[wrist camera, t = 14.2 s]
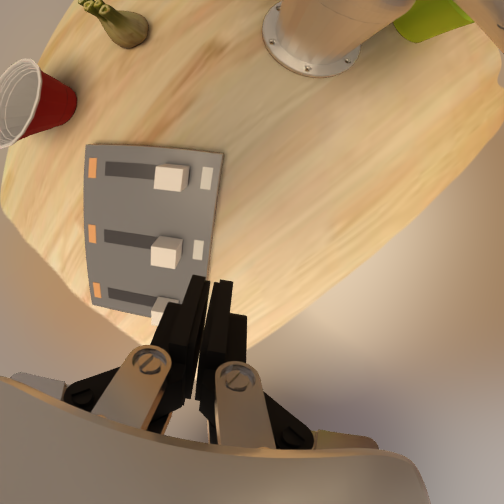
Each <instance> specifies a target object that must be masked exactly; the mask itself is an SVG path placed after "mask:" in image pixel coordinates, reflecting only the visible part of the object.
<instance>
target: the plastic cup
mask: <svg viewBox="0 0 504 504" xmlns="http://www.w3.org/2000/svg"><path fill="white" fill-rule="evenodd" d="M76 106H77V97H76V94H75V92H74V91H73V90H72V89H71V88H70V87H68V86H66V85H64V84H62V83H61V82H60V81H58V80H57V79H55V78H53V77H51V76H49V75H47V74H46V73H44V72H42V70H40V67H39V66H38V65H37V64H36V63H35V62H34V61H33V59H21V60H19V61H17V62H15V63H14V64H12V65H11V66H10V67H9V68H8V69H7V70H6V71H5V72H4V73H3V75H2V76H1V77H0V149H2V148H5V147H8V146H11V145H13V144H14V143H15V142H16V141H18V140H20V139H22V138H25V137H28V136H29V135H32V134H35V133H38V132H41V131H45V130H48V129H51V128H53V127H56V126H59V125H63V124H64V123H66V122H67V121H68V120H70V118H71V117H72V115H73V114H74V112H75V109H76Z"/></svg>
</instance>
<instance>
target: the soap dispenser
mask: <svg viewBox="0 0 504 504" xmlns="http://www.w3.org/2000/svg"><path fill="white" fill-rule="evenodd" d="M393 23H394V26H395V28H396V29H397V31H398V32H399V33H400V34H401V35H402V36H403V37H404V38H405V39H407V40H409V41H411V42H414V43H419V42H422V41H424V40H427V39H429V38H432V37H434V36H437V35H440V34H442V33H445V32H448V31H450V30H453V29H456V28H459V27H462V26H465V25H468V24H471V23H474V21H473V20H472V19H471V18H470V17H469V16H468V15H467V14H466V13H465V12H464V11H463V10H462V9H461V8H460V7H459V6H458V5H457V4H456V3H455V2H454V1H452V0H416V1H415V3H414V5H413V6H412V7H411V9H410V10H409V11H408V12H406V13H405V14H404V15H402V16H401V17H399V18H398V19H396V20H395V21H393Z"/></svg>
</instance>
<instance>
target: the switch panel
mask: <svg viewBox="0 0 504 504" xmlns="http://www.w3.org/2000/svg"><path fill="white" fill-rule="evenodd" d="M223 158H224V153H218V152H210V151H201V150H192V149H183V148H172V147H160V146H145V145H125V144H88V145H86V150H85V165H84V233H85V248H86V260H87V270H88V278H89V286H90V293H91V300H92V304H93V305H97V306H101V307H105V308H109V309H113V310H118V311H122V312H126V313H131V314H136V315H140V316H145V317H150V318H151V310H152V308H153V306H154V304H155V302H156V300H157V298H158V296H159V297H164V298H170V299H176V300H179V304H182V302H183V299H184V297H185V294H186V291H187V288H188V286H189V283H190V280H191V277H192V275H199V276H204V277H206V281H207V280H208V271H209V262H210V253H211V245H212V236H213V228H214V221H215V213H216V206H217V199H218V191H219V185H220V178H221V171H222V165H223ZM162 164H176V165H185V166H190V169H189V177H188V185H187V187H186V188H185V189H183V190H182V191H181V192H177V191H169V190H160V189H154V179H155V169H156V166H159V165H162ZM159 236H165V237H171V238H178V239H183V241H182V255H181V259H180V260H179V262H178V264H177V266H176V268H175V269H171V268H165V267H159V266H153V265H151V246H152V244H153V243H154V242H155V241H156V240H157V238H158V237H159Z"/></svg>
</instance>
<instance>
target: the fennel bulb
mask: <svg viewBox="0 0 504 504" xmlns="http://www.w3.org/2000/svg"><path fill="white" fill-rule="evenodd" d="M78 3H79V4H80V5H82V6H83V7H84V9H85V11H87V12H89V13H91V14H93V15H94V16H96V17H97V18H98V19H99V20H100V22H101V24H102V26H103V27H104V29H105V31H106V32H107V34H108V35H109V37H110V38H111V39H112V41H113V42H115V43H116V44H118V45H120V47H122V48H132V47H134V46H136V45H138V44H140V43H142V42H143V41H144V39H145V38H146V37H147V31H148V23H147V21H146V19H145V18H144V17H143V16H142V15H140V14H137V13H134V12H129V11H118V10H115V9H114V8H113V7H111V6H110V5H107V4H105V3H104V2H103V1H102V0H96V1H94V0H78Z"/></svg>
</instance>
